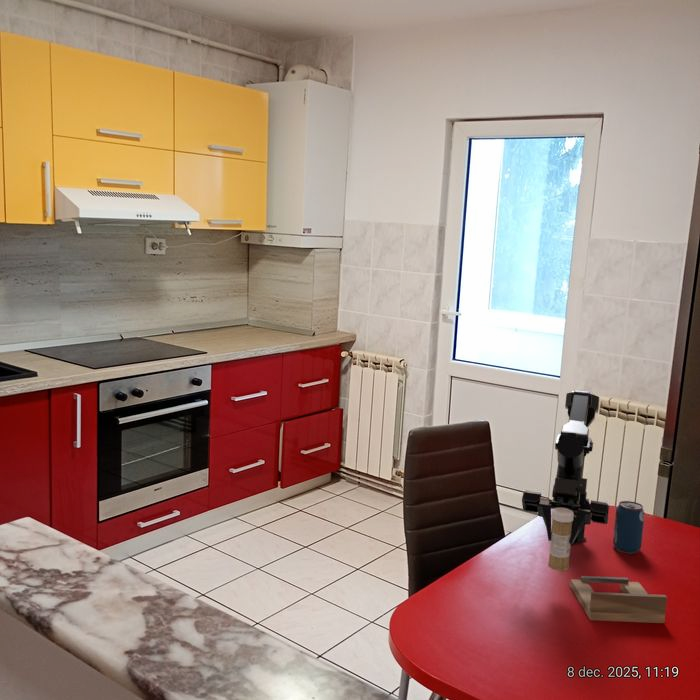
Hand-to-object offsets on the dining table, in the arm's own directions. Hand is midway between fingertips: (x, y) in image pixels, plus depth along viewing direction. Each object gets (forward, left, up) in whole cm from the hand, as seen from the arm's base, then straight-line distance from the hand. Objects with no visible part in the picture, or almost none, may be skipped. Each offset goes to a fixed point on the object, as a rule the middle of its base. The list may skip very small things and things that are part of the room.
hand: (560, 542), depth 167 cm
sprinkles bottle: (-1, +1, -7) cm, 7 cm away
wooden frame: (+9, +9, -13) cm, 18 cm away
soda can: (-8, +37, -13) cm, 40 cm away
